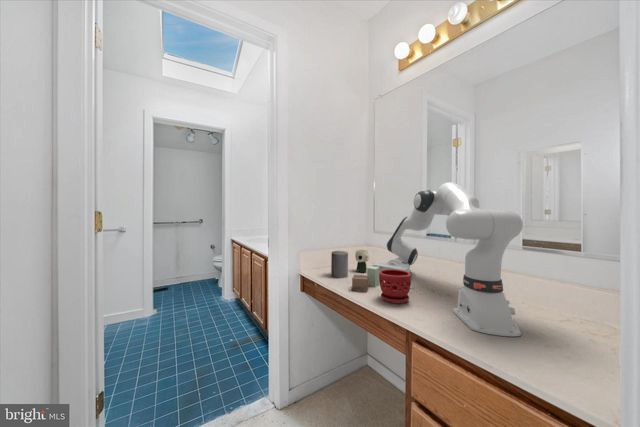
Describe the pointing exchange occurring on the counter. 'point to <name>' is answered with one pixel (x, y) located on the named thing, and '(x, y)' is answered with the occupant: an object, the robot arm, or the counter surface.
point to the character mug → (361, 260)
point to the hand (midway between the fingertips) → (383, 271)
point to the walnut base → (360, 283)
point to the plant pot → (395, 285)
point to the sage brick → (373, 276)
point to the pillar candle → (339, 264)
